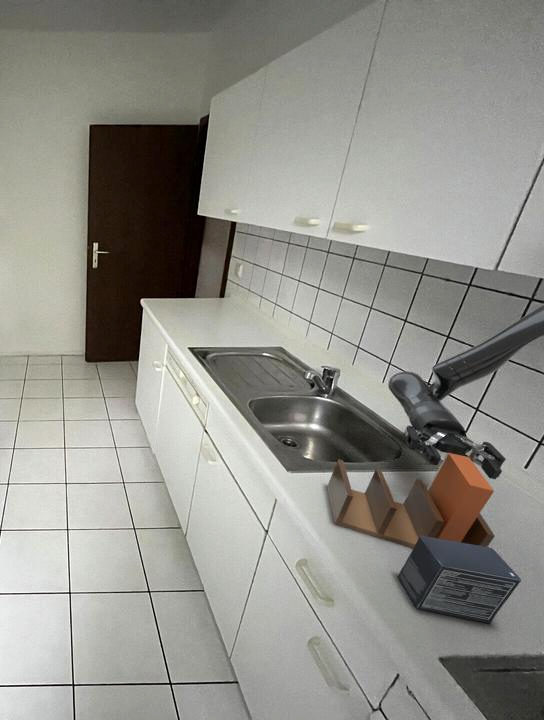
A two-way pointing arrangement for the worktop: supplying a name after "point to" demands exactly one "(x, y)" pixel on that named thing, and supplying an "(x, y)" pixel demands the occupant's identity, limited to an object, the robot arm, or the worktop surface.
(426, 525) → the book rack
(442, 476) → the book
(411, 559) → the small box
